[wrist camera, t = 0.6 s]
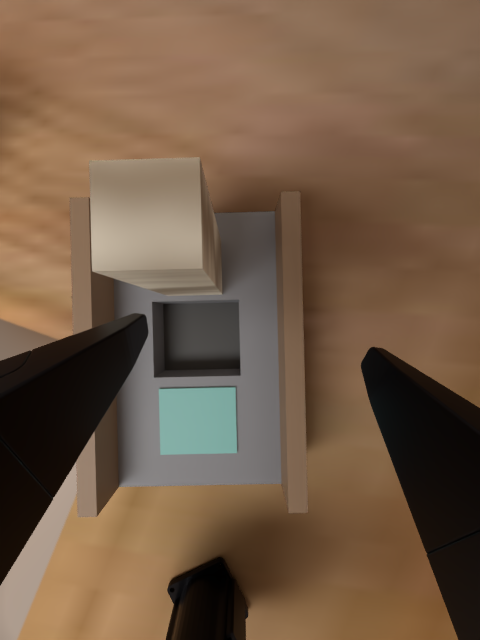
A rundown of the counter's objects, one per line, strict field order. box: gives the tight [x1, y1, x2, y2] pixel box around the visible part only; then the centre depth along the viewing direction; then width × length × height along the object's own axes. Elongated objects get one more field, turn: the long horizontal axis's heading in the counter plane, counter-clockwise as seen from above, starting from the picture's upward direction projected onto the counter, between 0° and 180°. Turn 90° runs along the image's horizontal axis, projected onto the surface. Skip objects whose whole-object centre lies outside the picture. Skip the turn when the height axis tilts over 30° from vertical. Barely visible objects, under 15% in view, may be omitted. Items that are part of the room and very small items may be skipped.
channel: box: [70, 191, 308, 517], centre depth 20 cm, size 25×18×6 cm
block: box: [89, 157, 222, 296], centre depth 15 cm, size 5×5×10 cm
